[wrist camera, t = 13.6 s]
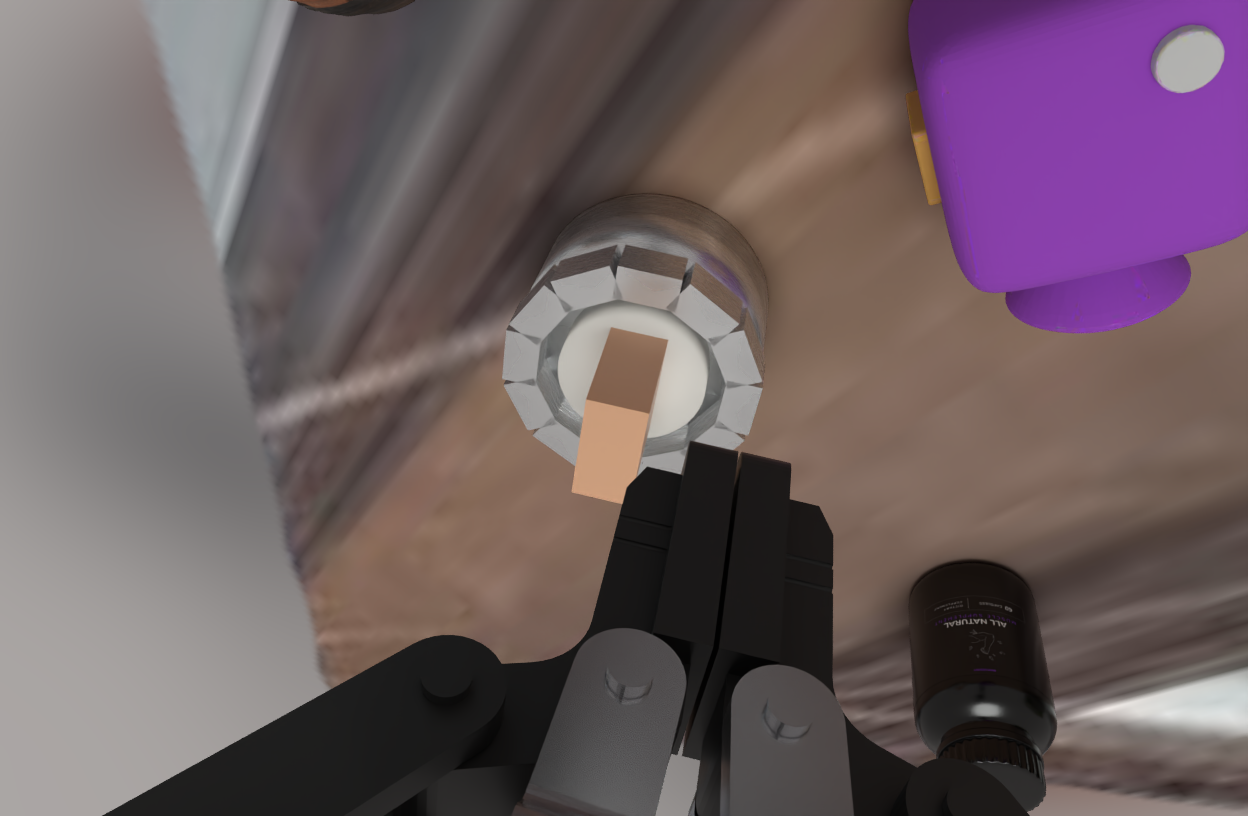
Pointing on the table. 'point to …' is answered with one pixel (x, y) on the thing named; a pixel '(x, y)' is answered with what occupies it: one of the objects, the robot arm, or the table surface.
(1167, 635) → the table surface
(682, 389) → the knob lid with grip
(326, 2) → the brown teapot
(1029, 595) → the supplement bottle
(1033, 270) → the toy camera
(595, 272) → the glass candle holder
